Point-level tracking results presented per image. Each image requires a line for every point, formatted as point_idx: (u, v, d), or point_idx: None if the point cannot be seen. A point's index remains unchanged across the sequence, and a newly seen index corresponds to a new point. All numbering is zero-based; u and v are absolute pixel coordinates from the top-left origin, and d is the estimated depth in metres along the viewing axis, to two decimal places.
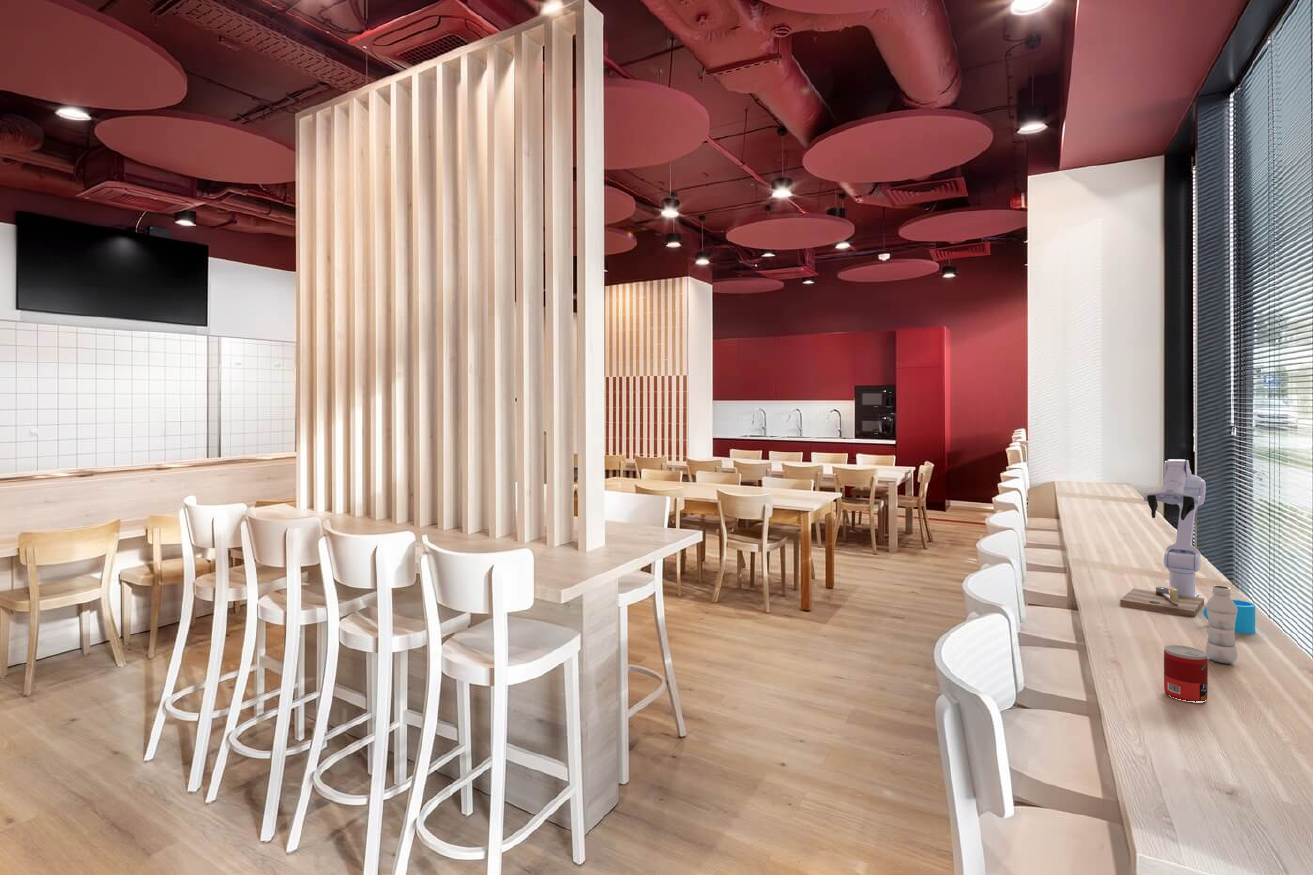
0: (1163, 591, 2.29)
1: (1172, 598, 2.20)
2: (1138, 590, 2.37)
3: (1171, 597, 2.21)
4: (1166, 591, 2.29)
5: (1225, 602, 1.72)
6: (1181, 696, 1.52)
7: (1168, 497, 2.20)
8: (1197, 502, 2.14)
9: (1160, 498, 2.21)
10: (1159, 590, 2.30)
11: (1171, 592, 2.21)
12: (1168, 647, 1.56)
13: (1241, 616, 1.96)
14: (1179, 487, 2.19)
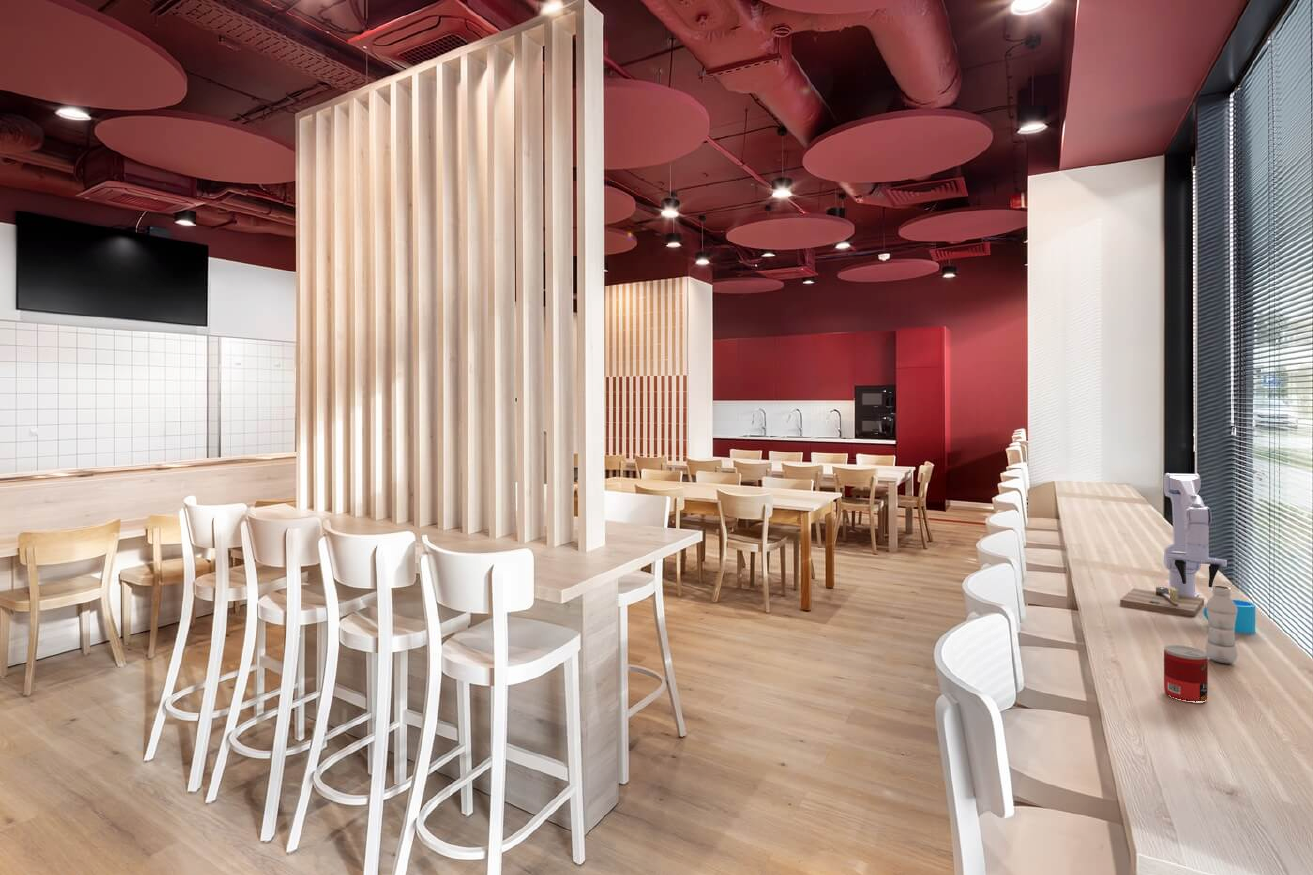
0: (1163, 591, 2.29)
1: (1172, 598, 2.20)
2: (1138, 590, 2.37)
3: (1171, 597, 2.21)
4: (1166, 591, 2.29)
5: (1225, 602, 1.72)
6: (1181, 696, 1.52)
7: None
8: None
9: (1186, 560, 2.17)
10: (1159, 590, 2.30)
11: (1171, 592, 2.21)
12: (1168, 647, 1.56)
13: (1241, 616, 1.96)
14: (1204, 551, 2.12)
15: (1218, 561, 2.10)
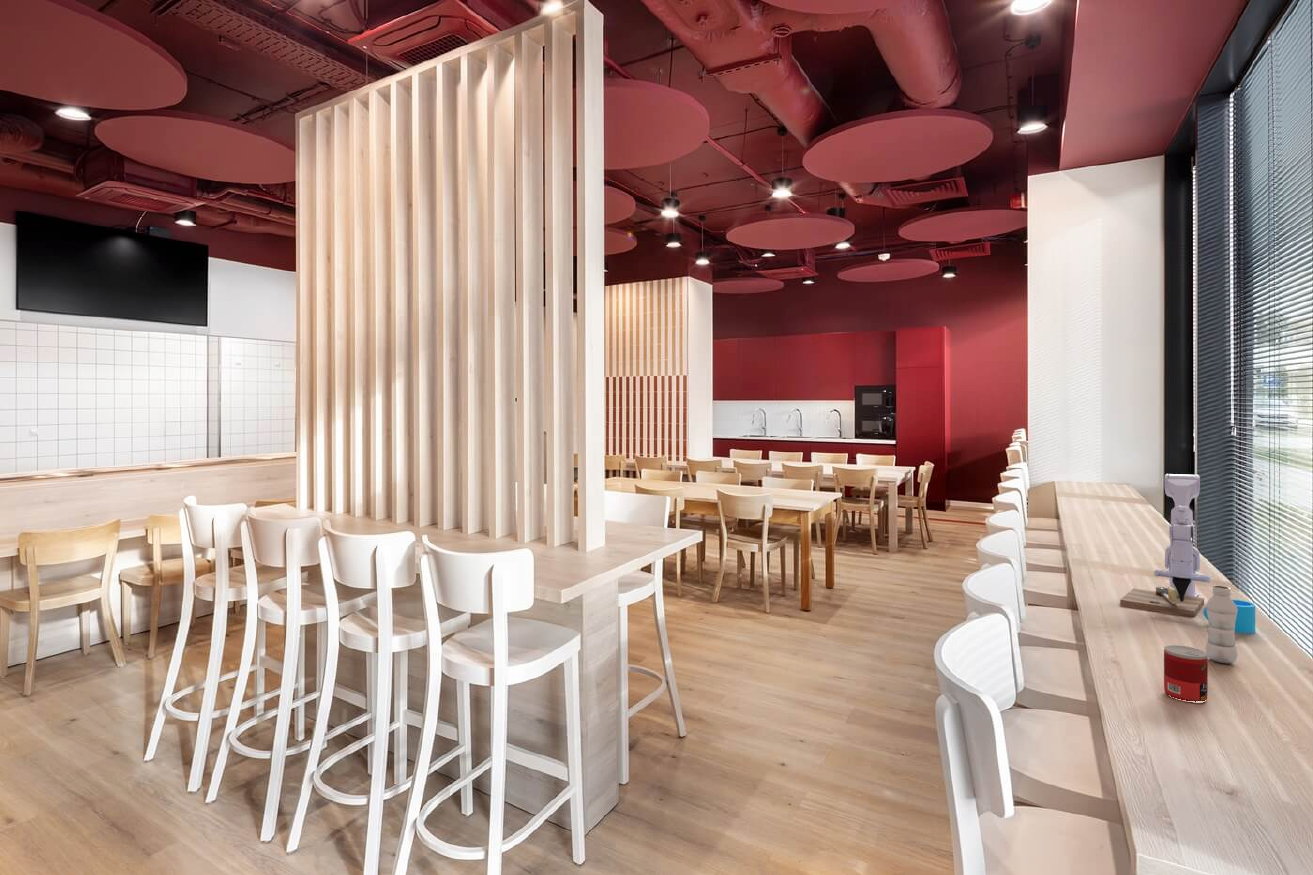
0: (1163, 591, 2.29)
1: (1170, 598, 2.20)
2: (1138, 590, 2.37)
3: (1169, 597, 2.21)
4: (1166, 591, 2.29)
5: (1225, 602, 1.72)
6: (1181, 696, 1.52)
7: None
8: None
9: (1171, 576, 2.20)
10: (1159, 590, 2.30)
11: (1169, 592, 2.21)
12: (1168, 647, 1.56)
13: (1241, 616, 1.96)
14: (1188, 567, 2.15)
15: (1202, 577, 2.13)
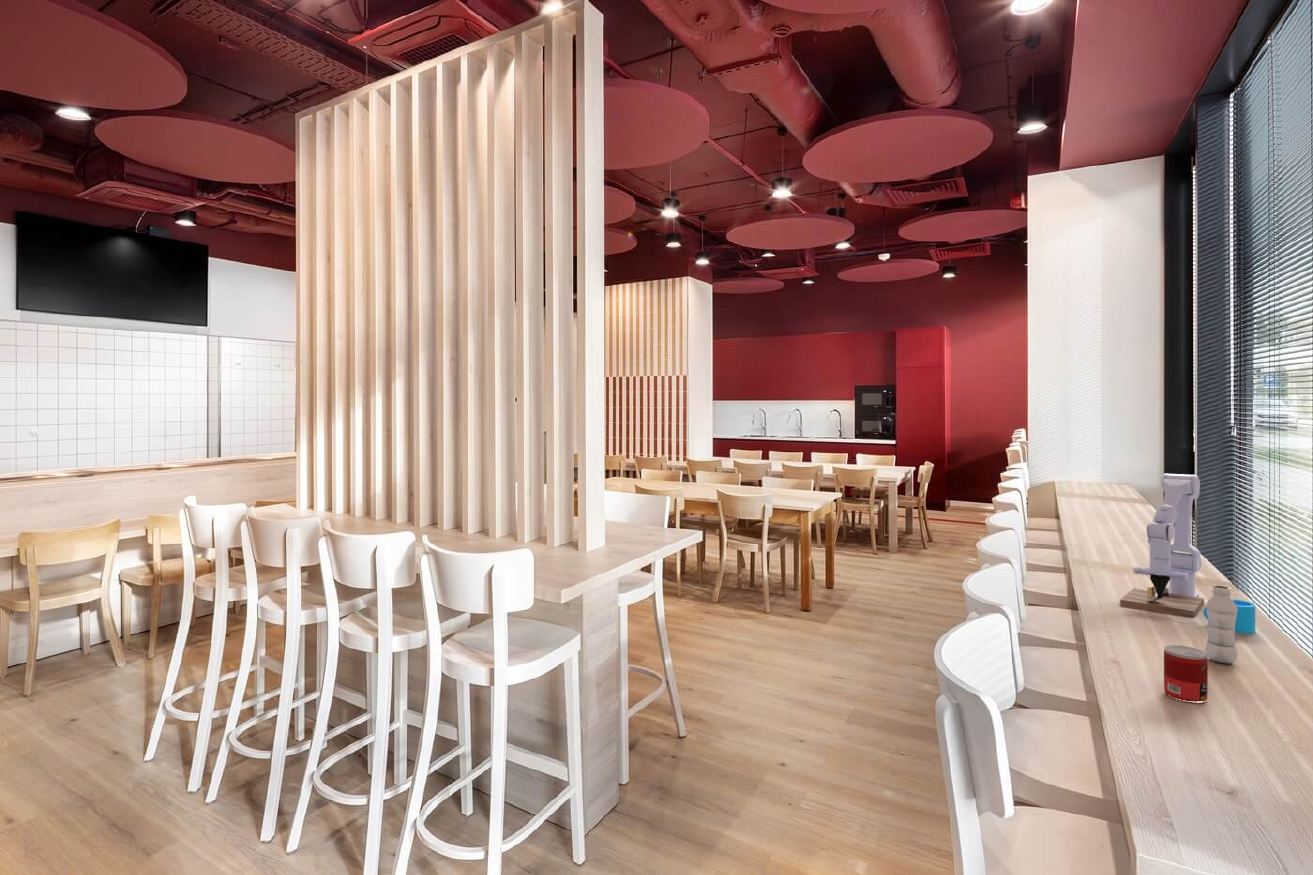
0: None
1: None
2: (1138, 590, 2.37)
3: None
4: None
5: (1225, 602, 1.72)
6: (1181, 696, 1.52)
7: None
8: None
9: (1150, 574, 2.24)
10: None
11: None
12: (1168, 647, 1.56)
13: (1241, 616, 1.96)
14: (1166, 565, 2.19)
15: (1179, 575, 2.17)
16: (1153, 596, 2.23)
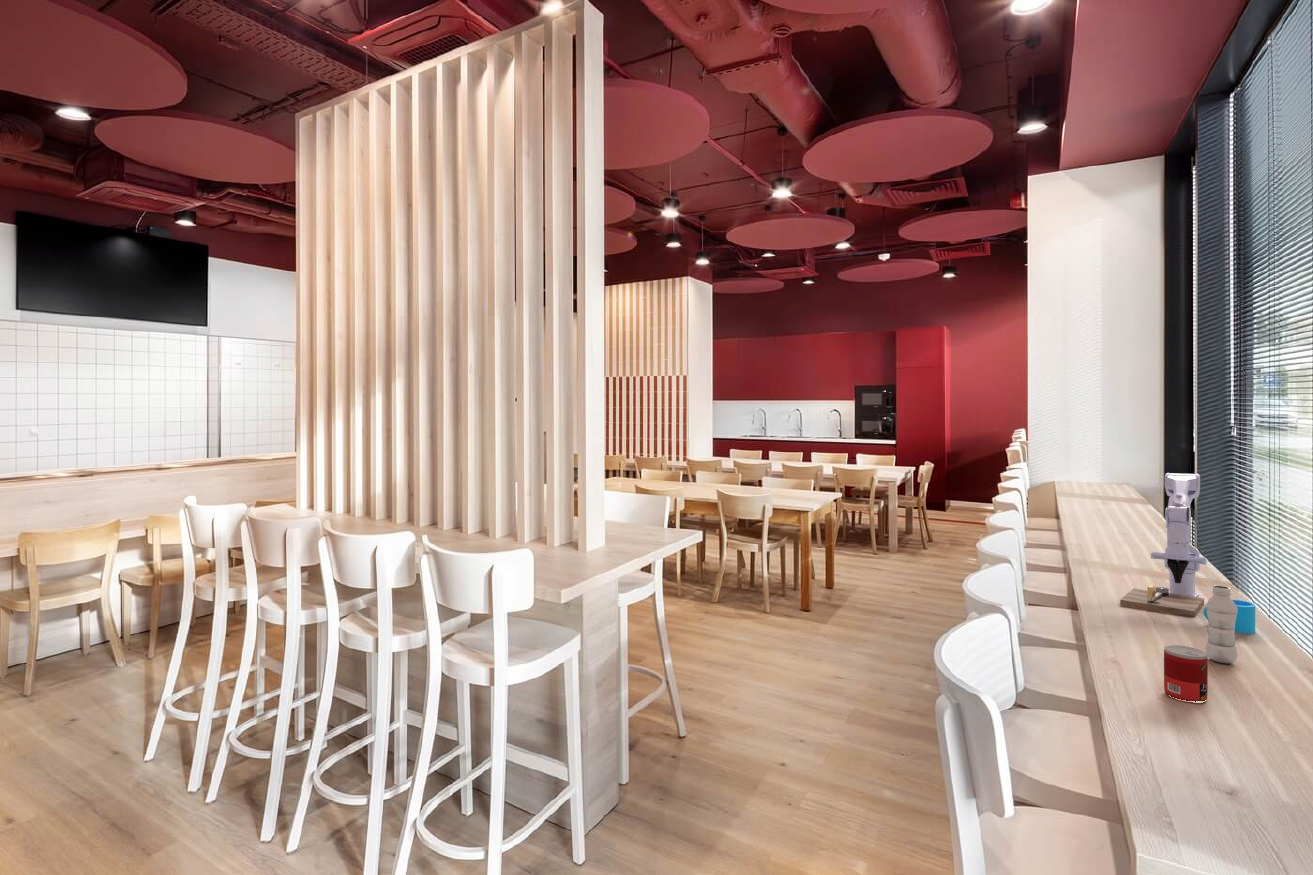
0: (1160, 591, 2.30)
1: None
2: (1138, 590, 2.37)
3: None
4: (1163, 591, 2.29)
5: (1225, 602, 1.72)
6: (1181, 696, 1.52)
7: None
8: None
9: (1167, 558, 2.20)
10: (1156, 589, 2.31)
11: None
12: (1168, 647, 1.56)
13: (1241, 616, 1.96)
14: (1184, 549, 2.16)
15: (1198, 559, 2.14)
16: (1153, 596, 2.23)
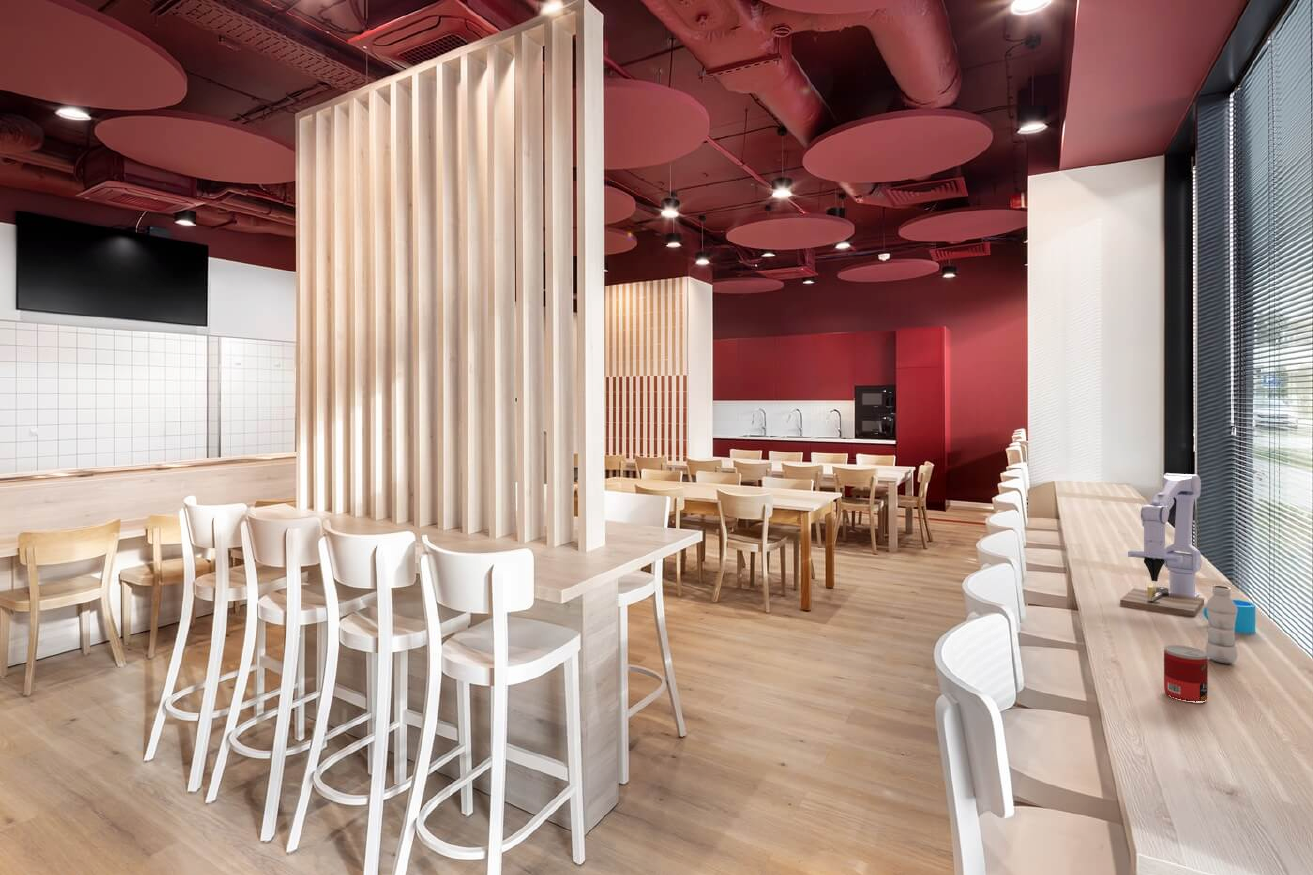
0: (1160, 591, 2.30)
1: None
2: (1138, 590, 2.37)
3: None
4: (1163, 591, 2.29)
5: (1225, 602, 1.72)
6: (1181, 696, 1.52)
7: None
8: (1180, 562, 2.17)
9: (1144, 557, 2.23)
10: (1156, 589, 2.31)
11: None
12: (1168, 647, 1.56)
13: (1241, 616, 1.96)
14: (1161, 547, 2.19)
15: (1174, 557, 2.17)
16: (1153, 596, 2.23)
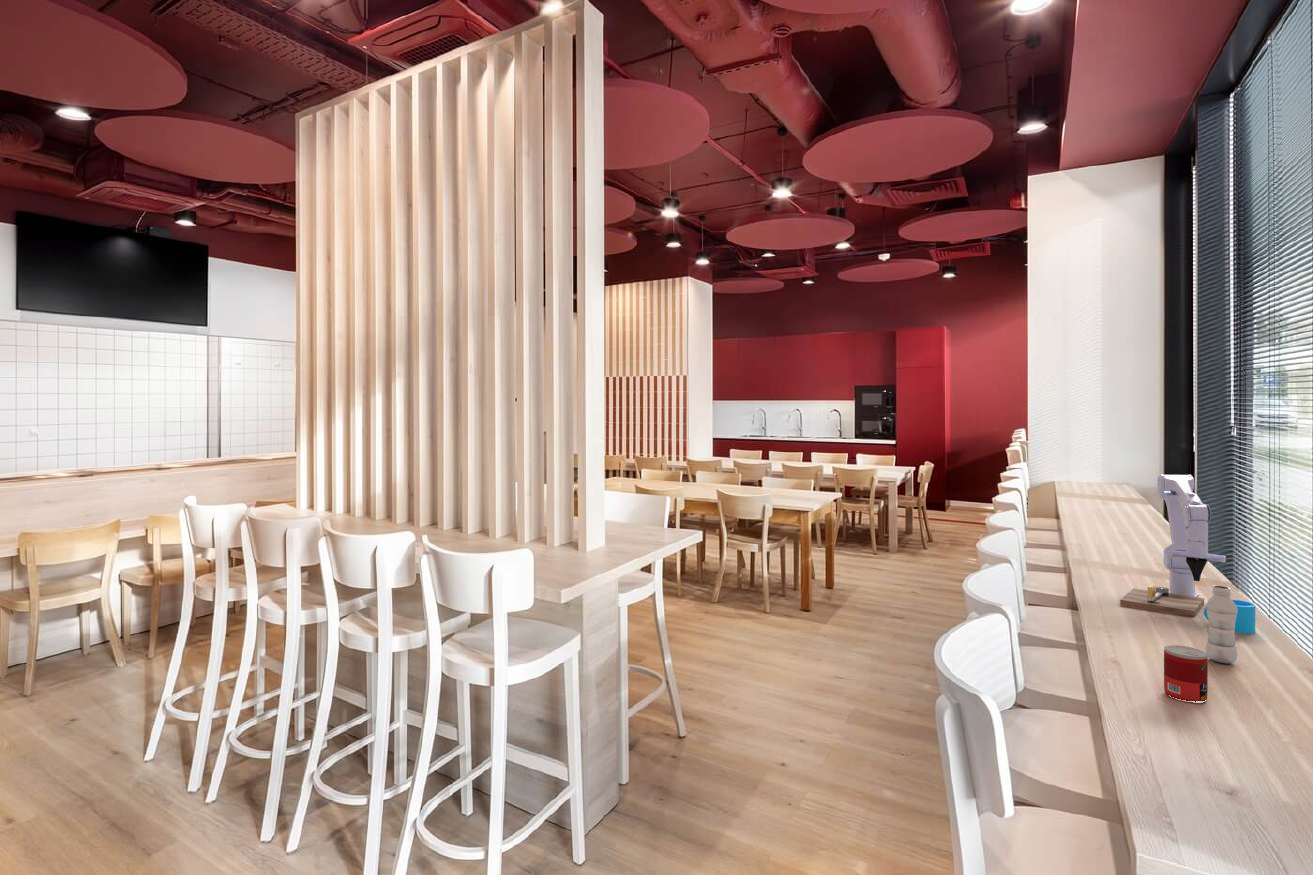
0: (1160, 591, 2.30)
1: None
2: (1138, 590, 2.37)
3: None
4: (1163, 591, 2.29)
5: (1225, 602, 1.72)
6: (1181, 696, 1.52)
7: None
8: (1224, 561, 2.15)
9: (1186, 556, 2.22)
10: (1156, 589, 2.31)
11: None
12: (1168, 647, 1.56)
13: (1241, 616, 1.96)
14: (1203, 547, 2.18)
15: (1217, 557, 2.16)
16: (1153, 596, 2.23)
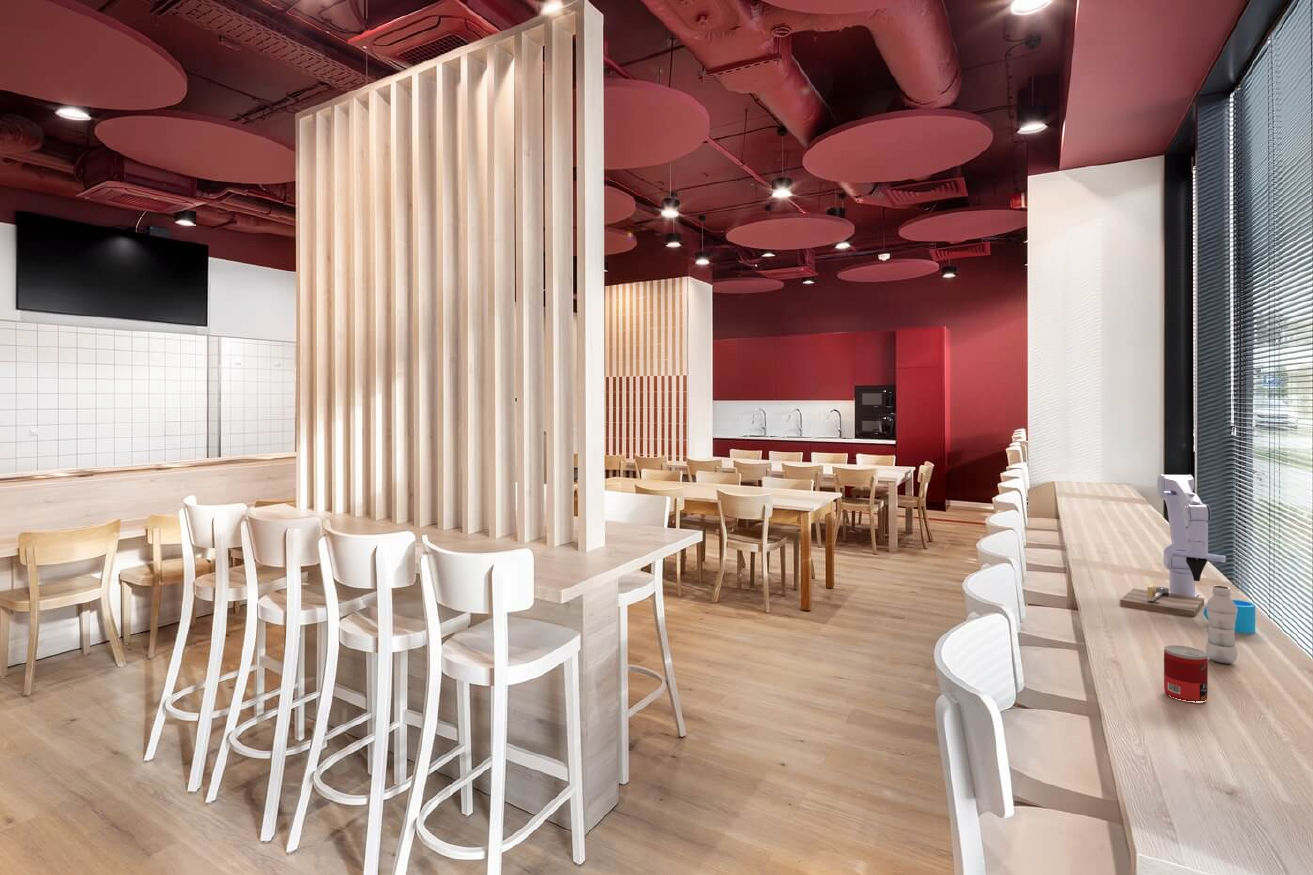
0: (1160, 591, 2.30)
1: None
2: (1138, 590, 2.37)
3: None
4: (1163, 591, 2.29)
5: (1225, 602, 1.72)
6: (1181, 696, 1.52)
7: None
8: (1224, 561, 2.15)
9: (1186, 556, 2.22)
10: (1156, 589, 2.31)
11: None
12: (1168, 647, 1.56)
13: (1241, 616, 1.96)
14: (1203, 547, 2.18)
15: (1217, 557, 2.16)
16: (1153, 596, 2.23)
